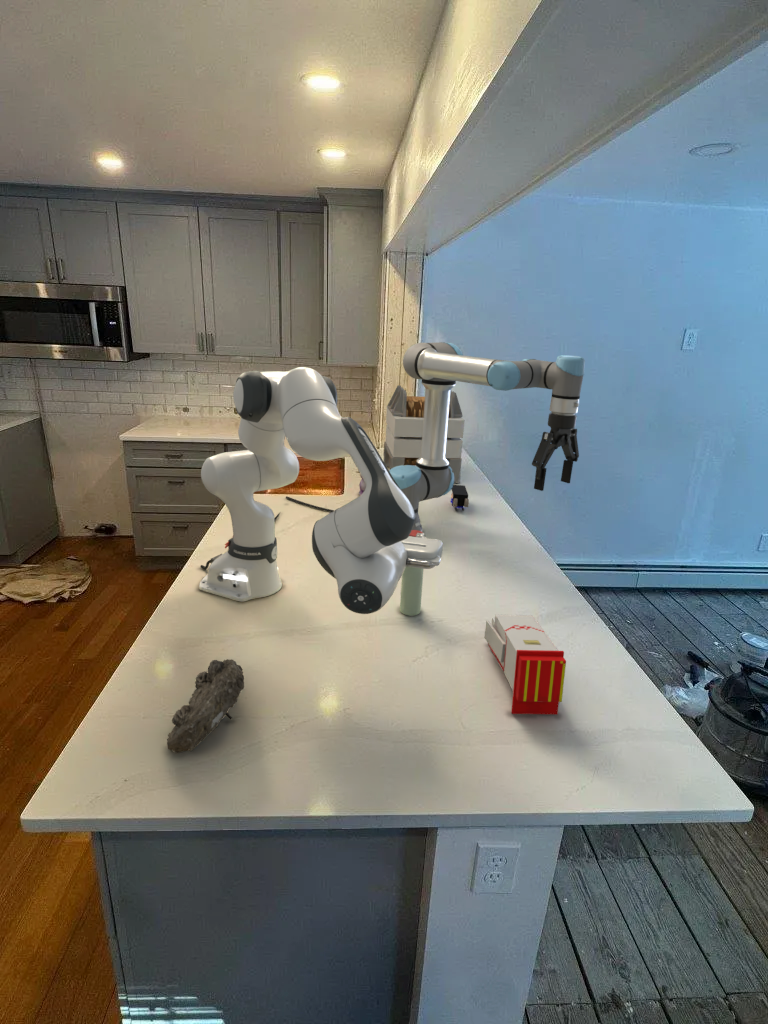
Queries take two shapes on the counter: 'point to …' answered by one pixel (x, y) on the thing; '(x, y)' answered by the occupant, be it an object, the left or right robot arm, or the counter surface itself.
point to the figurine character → (459, 497)
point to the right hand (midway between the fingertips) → (552, 485)
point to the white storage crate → (419, 431)
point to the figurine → (362, 486)
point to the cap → (414, 533)
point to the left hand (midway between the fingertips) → (398, 533)
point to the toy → (527, 663)
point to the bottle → (411, 591)
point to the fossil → (206, 705)
